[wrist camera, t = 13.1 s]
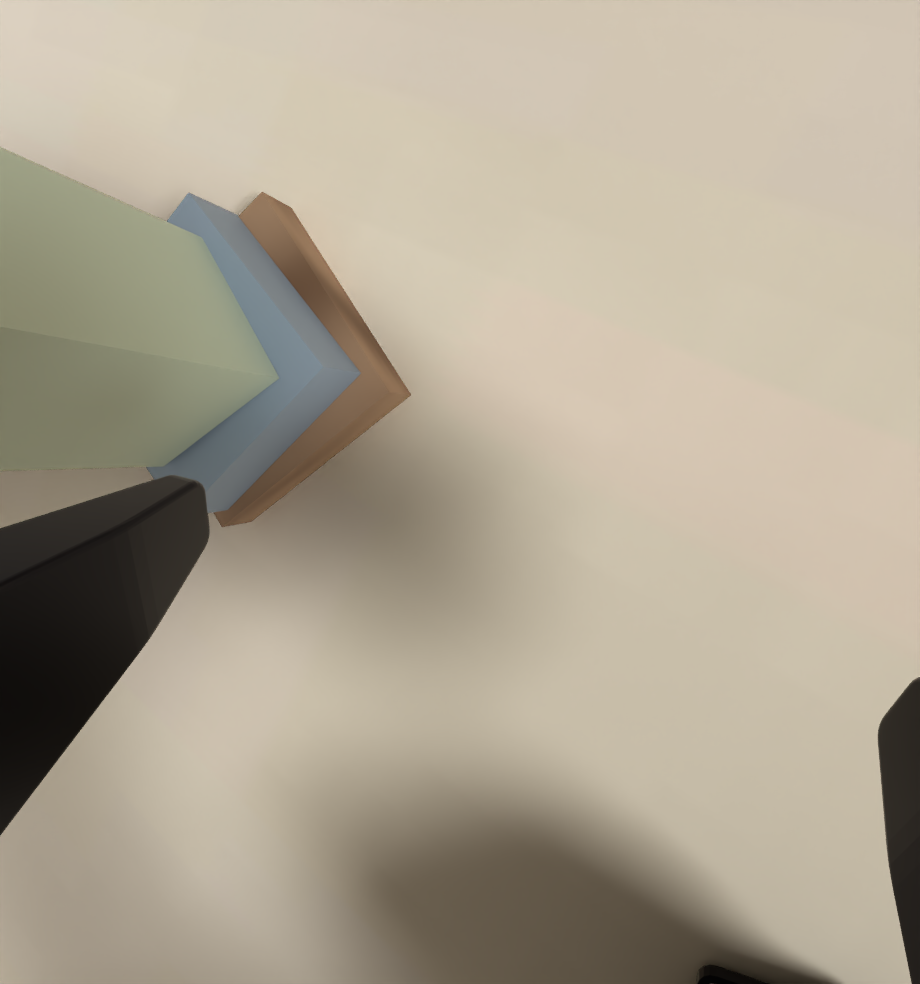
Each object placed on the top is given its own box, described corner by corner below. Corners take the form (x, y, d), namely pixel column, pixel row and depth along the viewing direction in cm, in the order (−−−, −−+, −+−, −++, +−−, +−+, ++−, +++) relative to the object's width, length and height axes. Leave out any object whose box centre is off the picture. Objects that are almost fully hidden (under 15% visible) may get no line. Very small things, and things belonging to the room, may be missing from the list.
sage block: (279, 378, 19) (-190, 291, 9) (163, 466, 21) (-356, 480, 10) (202, 237, 20) (-326, 0, 9) (94, 333, 21) (-462, 221, 11)
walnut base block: (418, 396, 23) (389, 391, 21) (261, 519, 25) (221, 527, 23) (300, 213, 24) (262, 191, 22) (162, 350, 26) (116, 343, 24)
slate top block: (361, 373, 21) (323, 366, 19) (227, 509, 23) (181, 517, 21) (237, 214, 22) (188, 192, 20) (121, 359, 24) (66, 353, 22)
